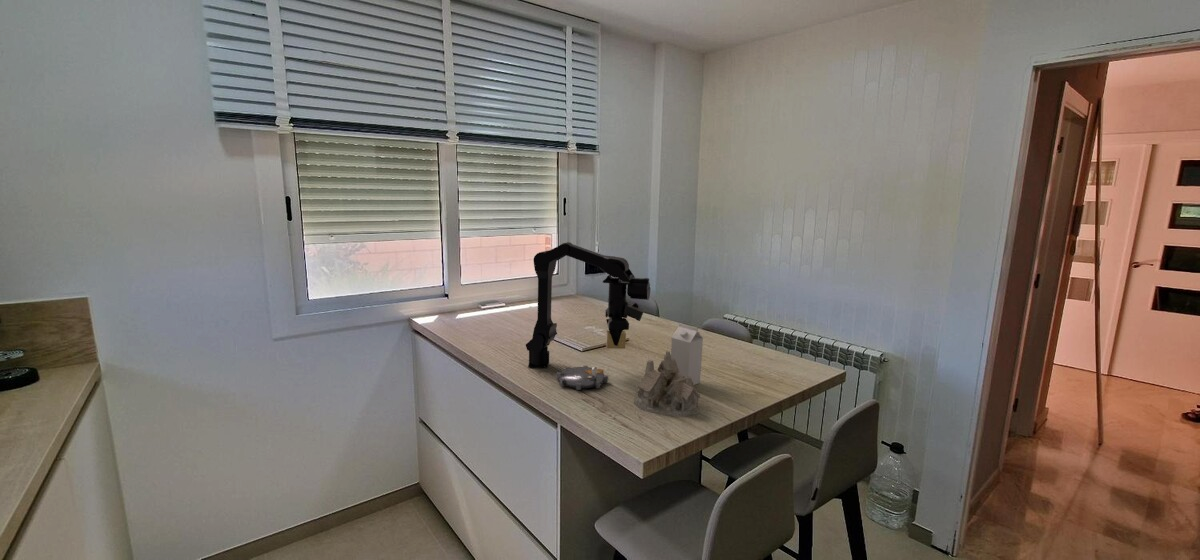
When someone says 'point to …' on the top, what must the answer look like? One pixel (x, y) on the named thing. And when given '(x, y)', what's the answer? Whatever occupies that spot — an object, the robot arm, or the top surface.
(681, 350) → the milk carton
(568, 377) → the sprocket
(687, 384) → the ceramic cottage
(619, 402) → the top surface
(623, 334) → the orange banded block
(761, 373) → the top surface
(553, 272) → the robot arm
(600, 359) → the top surface
